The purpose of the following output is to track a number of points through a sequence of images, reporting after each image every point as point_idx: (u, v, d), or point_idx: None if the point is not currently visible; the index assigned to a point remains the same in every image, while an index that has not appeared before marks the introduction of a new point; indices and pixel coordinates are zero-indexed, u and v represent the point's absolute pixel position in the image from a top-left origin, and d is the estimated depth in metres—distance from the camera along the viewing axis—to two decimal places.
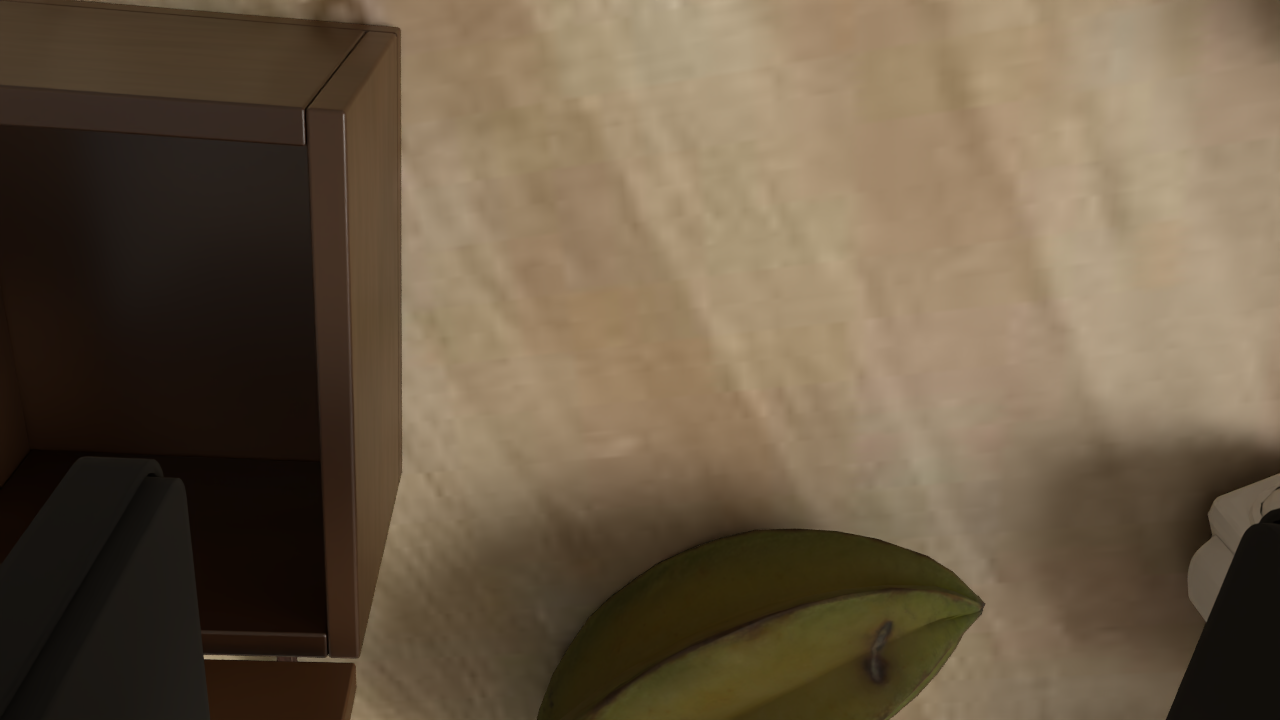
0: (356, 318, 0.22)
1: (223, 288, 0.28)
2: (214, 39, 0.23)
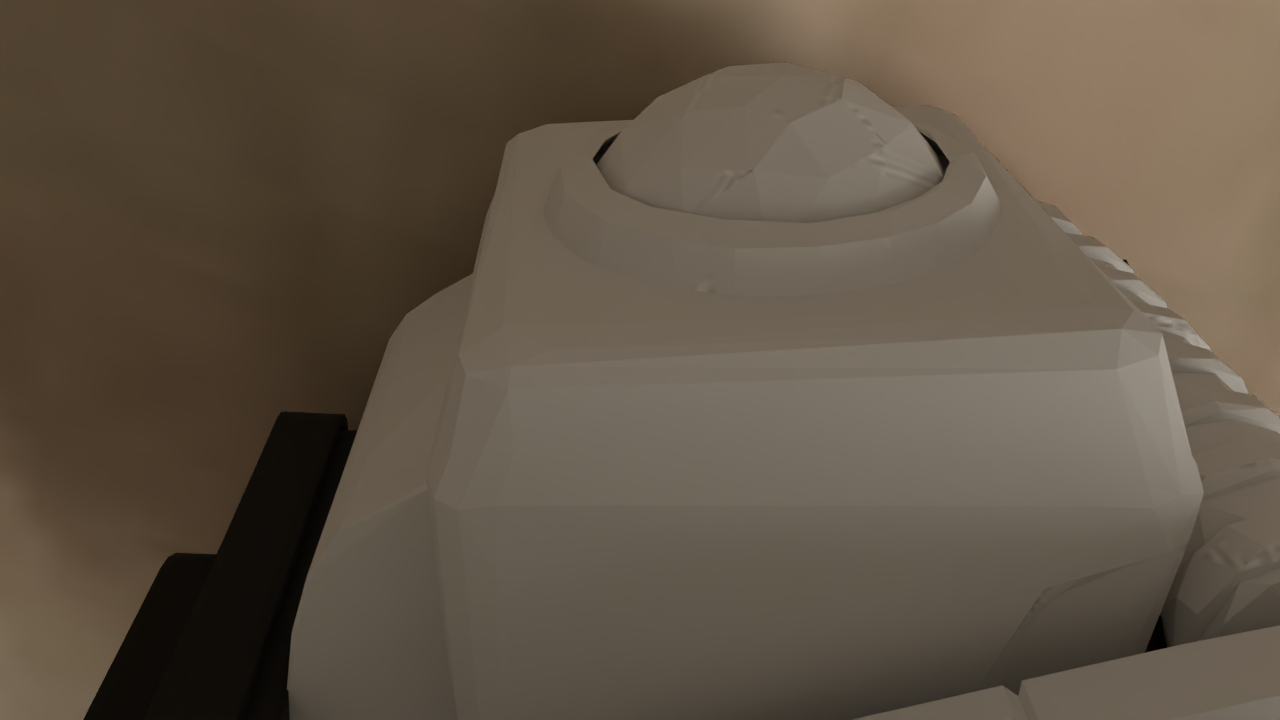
0: None
1: None
2: None
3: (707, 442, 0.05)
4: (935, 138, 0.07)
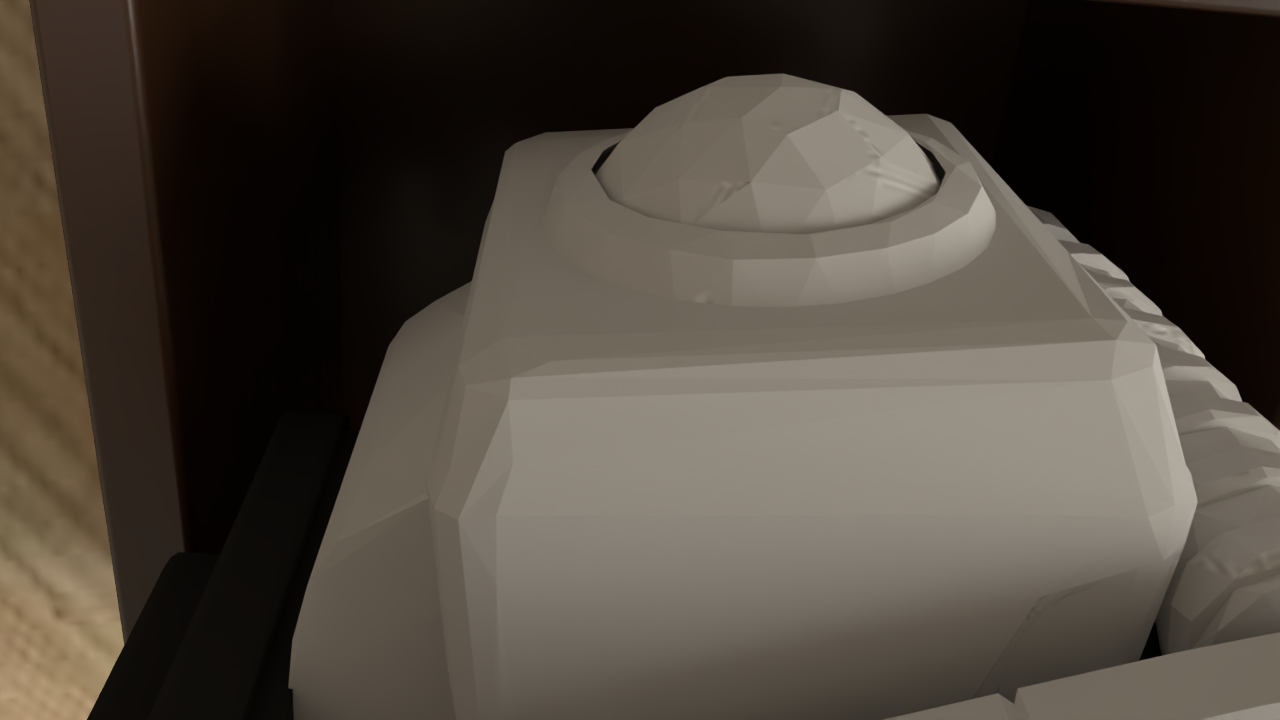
0: None
1: None
2: None
3: (705, 452, 0.05)
4: (931, 148, 0.07)
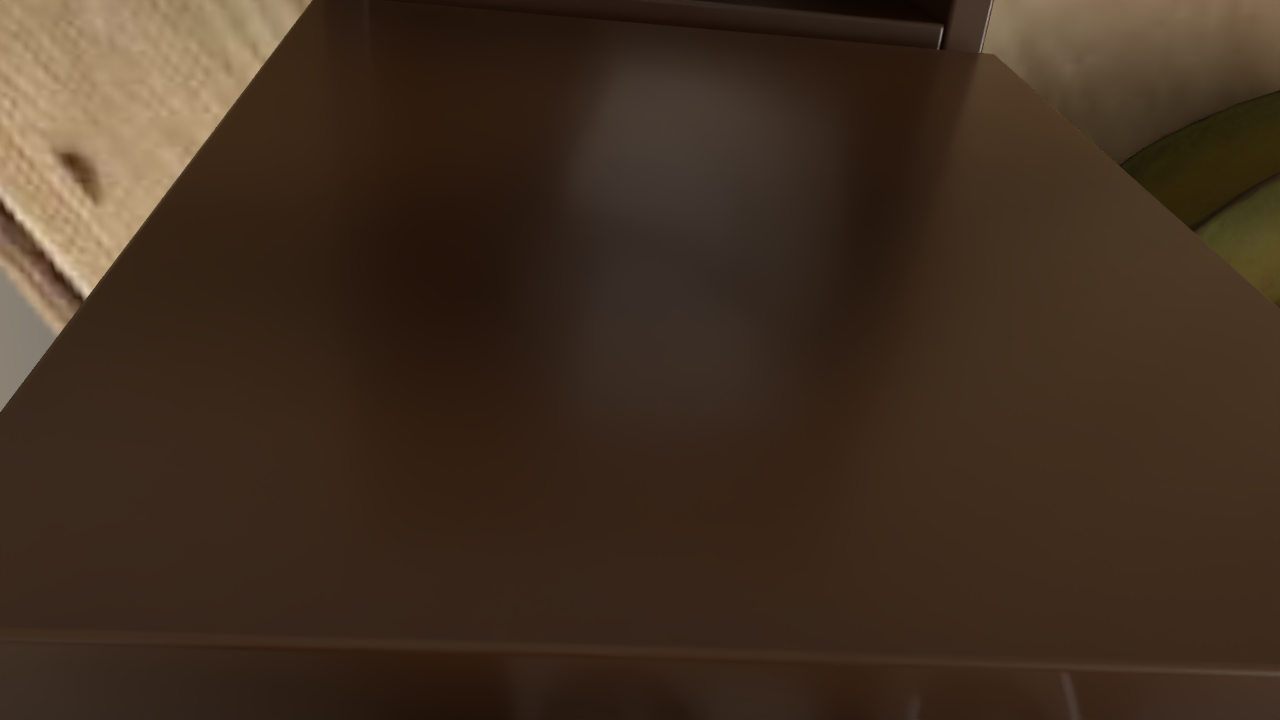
0: None
1: None
2: None
3: None
4: None
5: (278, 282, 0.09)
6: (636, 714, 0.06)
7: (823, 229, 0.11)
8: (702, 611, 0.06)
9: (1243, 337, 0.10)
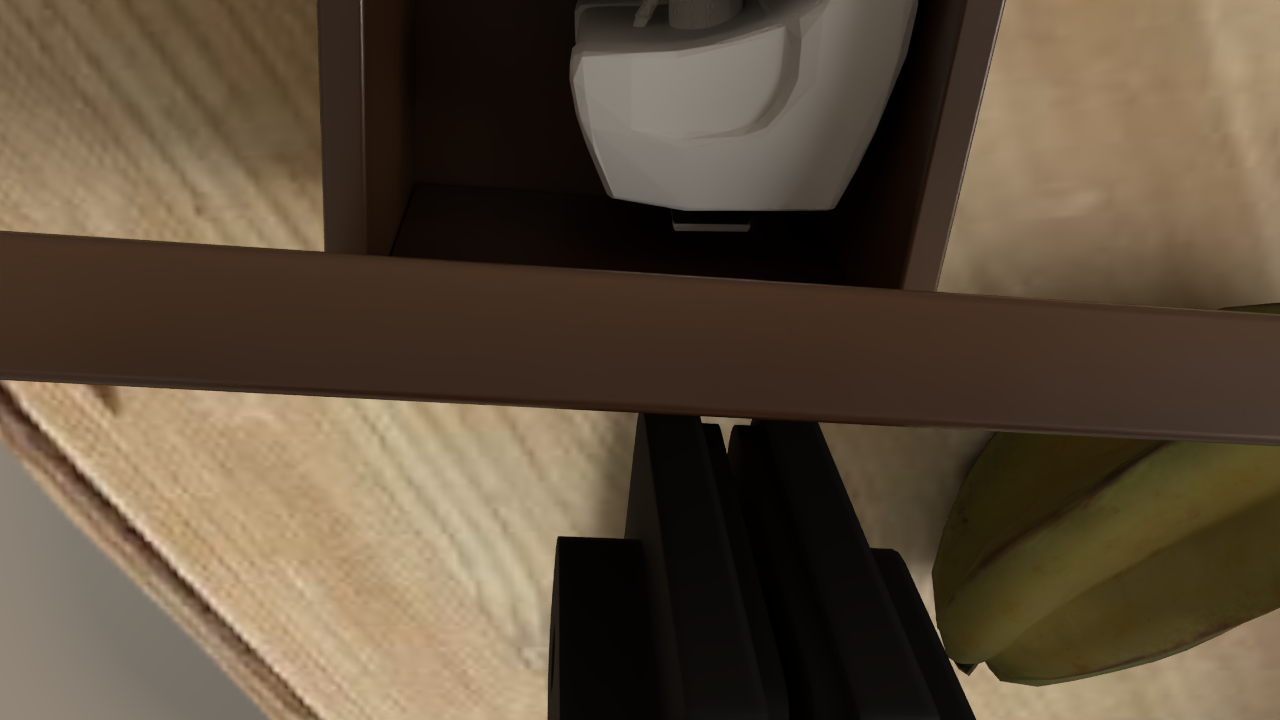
0: None
1: None
2: None
3: None
4: None
5: None
6: (654, 358, 0.06)
7: None
8: (708, 281, 0.07)
9: None
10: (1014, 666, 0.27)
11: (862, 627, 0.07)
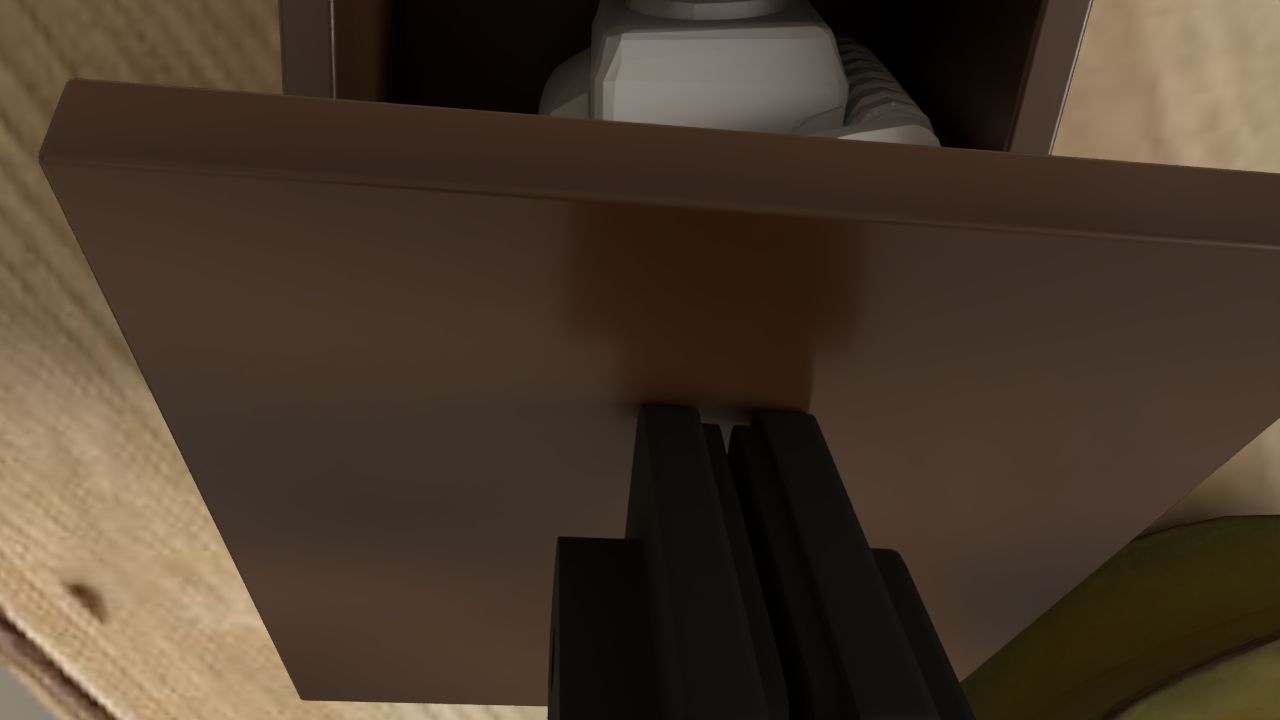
0: None
1: None
2: None
3: (683, 60, 0.16)
4: None
5: None
6: (642, 169, 0.08)
7: None
8: None
9: None
10: None
11: (862, 627, 0.07)
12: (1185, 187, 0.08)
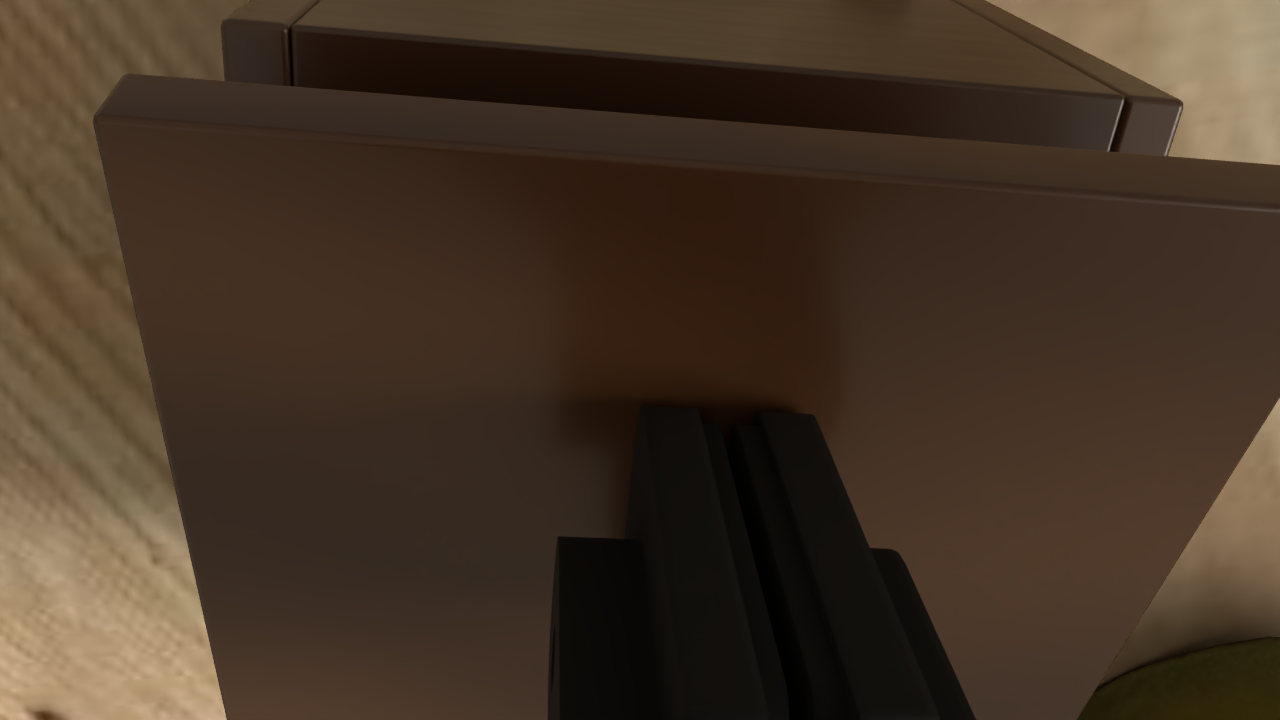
0: None
1: None
2: None
3: None
4: None
5: None
6: (637, 139, 0.09)
7: None
8: None
9: None
10: None
11: (862, 627, 0.07)
12: (1126, 164, 0.09)
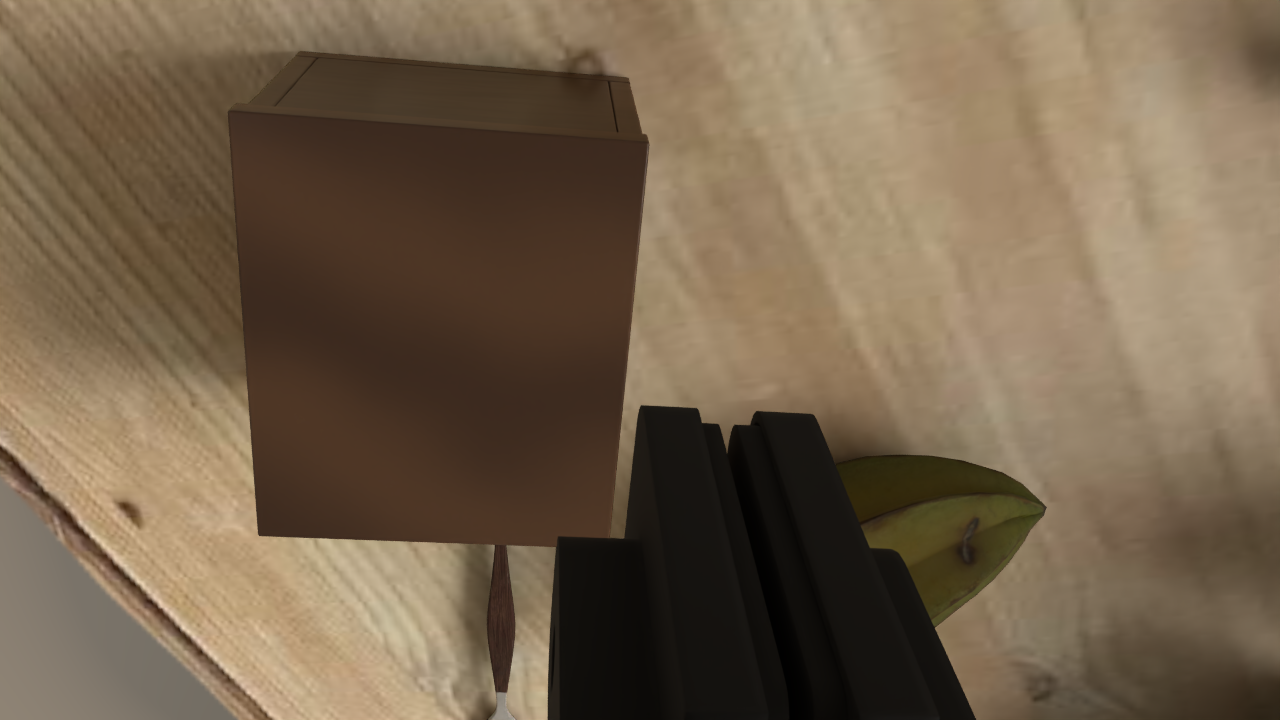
0: None
1: None
2: (518, 90, 0.33)
3: None
4: None
5: None
6: (398, 119, 0.28)
7: None
8: None
9: None
10: None
11: (862, 627, 0.07)
12: (564, 130, 0.28)
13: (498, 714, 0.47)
